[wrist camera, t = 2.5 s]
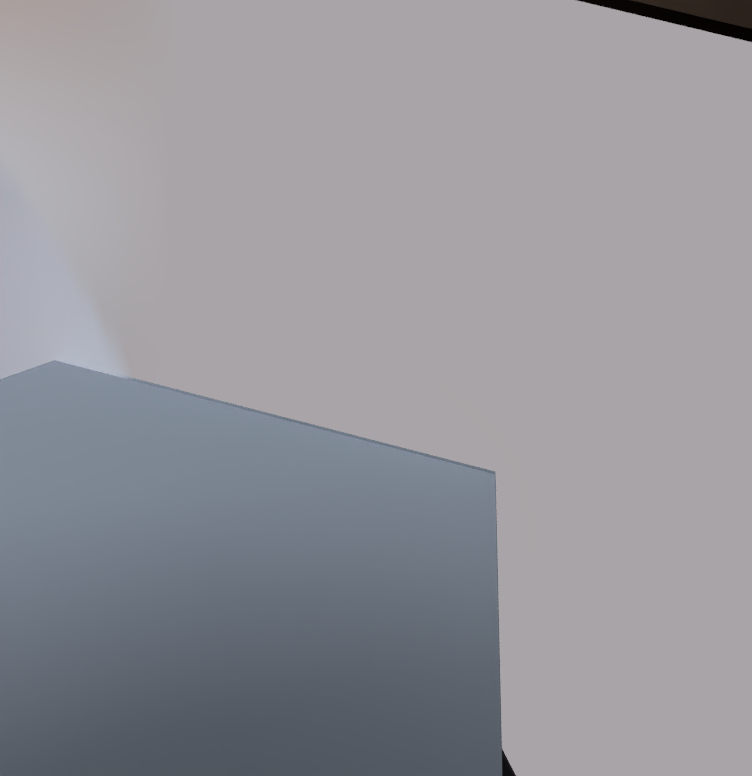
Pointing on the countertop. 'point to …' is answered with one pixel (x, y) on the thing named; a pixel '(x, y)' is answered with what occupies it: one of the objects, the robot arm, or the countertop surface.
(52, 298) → the countertop surface
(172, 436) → the slate cube
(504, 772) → the robot arm
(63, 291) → the countertop surface
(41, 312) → the countertop surface
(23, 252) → the countertop surface
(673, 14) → the walnut block
